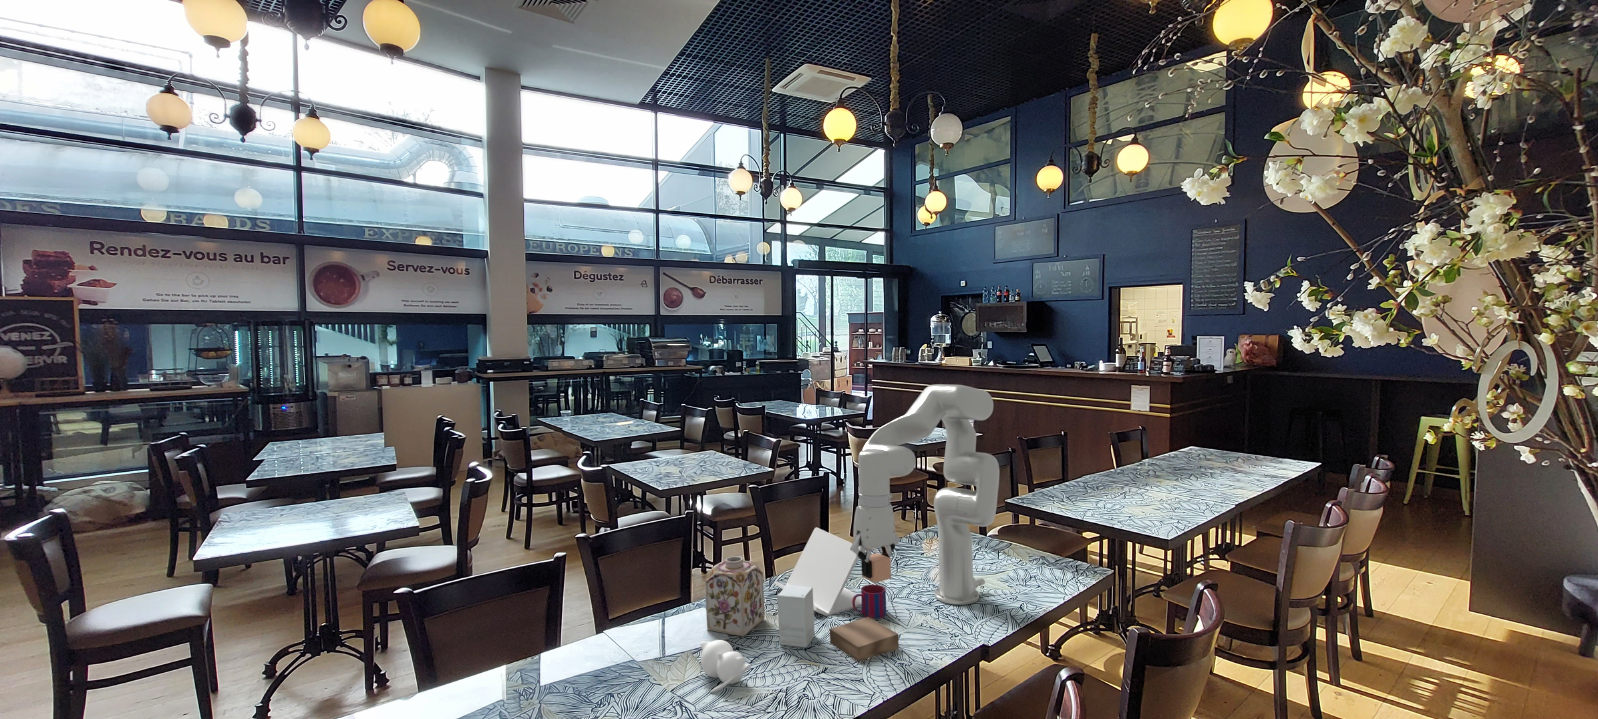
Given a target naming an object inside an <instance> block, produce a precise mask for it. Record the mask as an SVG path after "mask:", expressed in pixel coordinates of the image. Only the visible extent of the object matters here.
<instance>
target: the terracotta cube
mask: <svg viewBox="0 0 1598 719" xmlns="http://www.w3.org/2000/svg"><path fill="white" fill-rule="evenodd" d="M881 554H882V553H879V552H877V553H871V556H870V561H871V563H872V578H867V577H865V576H863V575H862V574H861V577H862V578H863V579H866V580H868V581H870V582H873V583H874V584H875V583H880V582H883V581H886V580H891V579H892V565H891V564H892V562H891V557H890V558H889V557H886V556H884V555H881Z"/></svg>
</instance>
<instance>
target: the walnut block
mask: <svg viewBox="0 0 1598 719" xmlns="http://www.w3.org/2000/svg"><path fill="white" fill-rule="evenodd" d="M829 643H830V644H831V645H833V647H835V646H836V647H835V648H837V649H838V648H839V649H838V650H840V651H841V650H842V651H841V652H843V653H844V652H845V653H844V654H846V655H847V654H848V655H847V656H849V655H850V656H851V657H852V658H851V657H850V656H849V657H850V658H851V659H853V658H854V659H855V660H854V659H853V660H854V661H856V660H857V661H858V662H857V661H856V662H857V663H861V662H864V661H867V660H869V659H868V658H870V659H873V658H875V657H874V656H876V657H879V656H882V655H885V654H887V653H890V652H893V651H896V650H899V633H898V632H895V631H893V630H892V629H891V628H888V627H887V626H885V625H884V624H881V623H880V622H879V621H876V620H875V619H874V618H869V617H863V618H861V619H857V620H854V621H850V622H848V623H844V624H841V625H837V626H834V627H831V628H829ZM881 654H882V655H881ZM878 655H879V656H878ZM872 657H873V658H872ZM866 659H867V660H866ZM863 660H864V661H863ZM860 661H861V662H860Z"/></svg>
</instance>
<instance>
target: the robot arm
mask: <svg viewBox="0 0 1598 719" xmlns="http://www.w3.org/2000/svg"><path fill="white" fill-rule="evenodd" d="M993 411H994V400H993V397H992V395H991V394H990V393H989V392H988V391H987V390H984V389H981V388H976V387H972V386H968V385H963V384H947V383H946V384H942V383H939V384H937V383H936V384H931V385H927V387H925V388H924V389H923V391H922V392H920V394H919V395H918V397H917V398H916V399H915V400H914V402H913V403H912V404H911V406H910V407H909V409H908V410H907V411H906V413H905V414H904V415H901V416H899V417H897V418H894V419H893V420H892V421H890V422H888V423H886V424H884V425H882V426H881V427H879V428H878V429H876V430H875V431H874V432H873V433H872V434H871V436H870V437H869V438H868V440H867V441H866V442H865V444H864V446H863V447H862V449H861V451H859V453H858V458H857V460H858V462H857V464H858V468H857V469H858V498H859V499H858V503H859V504H858V506H856V508H855V512H854V521H853V537H852V538H853V544H852V546H851V548H850V550H851V551H852V552H853V553H855V554H856V555H857V556H858V557H859V558H858V559H859V560H860V561H861V576H862V575H863V576H865V577H867V578H872V563H871V561H870V556H871V554H872V550H874V549H879V548H880V552H881V553H880V554H881V555H884V556H886V557H889V558H891V557H892V556H893V552H894V551H895V548H896V546H897V545H898V544H899V542H900V541H901V540H900V537H899V536H898V535H897V533H896V523H895V516H894V509H893V506H892V504H891V499H892V498H893V493H892V492H891V490H890V489H891V486H890V484H891V482H890V481H891V480H890V478H893V477H895V478H896V477H899V478H900V477H905V476H908V475H909V474H911V473H912V472H913V470H914V468H915V466H916V464H917V463H916V461H917V460H916V456H915V453H914V452H913V451H912V449H910V448H908V447H906V446H902V445H904V444H908V443H913V442H917V441H921V440H923V439H926V438H928V437H929V436H930V435H931V434H932V433H933V432H934V431H935V429H936V428H937V426H938V424H939V423H940V421H942V423H943V425H944V427H945V430H946V440H945V441H946V443H945V449H944V450H945V451H944V459H943V468H942V469H943V476H944V478H945V480H947V481H948V482H951V483H955V484H961V485H968V486H974V487H976V489H975V490H972V489H967V488H966V489H965V488H958V487H952V486H951V487H950V486H949V487H943V488H941V489H939V490H937V492H936V493H935V496H934V498H933V508H934V513H935V518H936V522H937V523H936V524H937V534H938V535H937V536H938V537H937V539H938V568H939V569H938V570H939V573H938V575H939V586H938V587H937V588H935V590H934V598H936V600H938V601H940V602H942V603H945V604H948V605H954V606H955V605H957V606H963V605H965V606H966V605H970V604H971V605H972V604H974V603H976V602H978V601H979V600H980V593H979V591H977V588H978V587H980V586H984V585H985V584H986V581H985V579H984V578H983V577H981V578H976V579H975V578H974V567H973V566H974V564H973V536H972V533H971V530H970V528H969V526H968V525H970V526H975V527H982V528H983V527H988V526H990V525H991V524H993V522H994V520H995V518H996V511H997V505H998V496H999V495H998V493H999V486H1000V466H999V462H998V459H997V458H996V457H995V456H994V455H992V454H991V453H987V452H979V451H976V448H977V446H976V445H977V434H976V433H977V432H976V430H975V428H974V426H973V425H972V422H970V421H985V420H987V419H988V418H990V416H992V414H993ZM859 547H861V549H860V550H859Z"/></svg>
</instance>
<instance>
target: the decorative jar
mask: <svg viewBox="0 0 1598 719" xmlns="http://www.w3.org/2000/svg"><path fill="white" fill-rule="evenodd" d="M763 573H764V572H763V571H762V570H761V569H760V567H759V566H758V565H757V564H755V563H754V562H753V561H751V560H744V558H743V557H742V556H740V555H739V556H737V555H735V556H733V555H732V556H729V557H727V558H725V560H724V561H721V562H719V563H717V564H715V565H714V566H712V567H711V569H710V571H709V573H708V575H707V576H706V579H705V609H706V610H705V611H706V612H705V613H706V615H705V616H706V630H707V631H710V632H715V633H722V634H725V635H726V634H727V635H731V636H737V637H745V636H746V635H748V633H750V632H751V631H752V630H754V628H755V627H757V626H758V625H759V624H761V623H762V622H763V621H764V620H765V595H764V594H765V591H764V574H763Z"/></svg>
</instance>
